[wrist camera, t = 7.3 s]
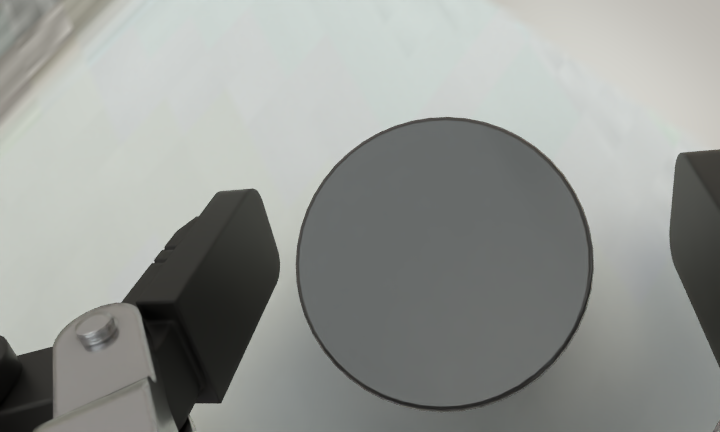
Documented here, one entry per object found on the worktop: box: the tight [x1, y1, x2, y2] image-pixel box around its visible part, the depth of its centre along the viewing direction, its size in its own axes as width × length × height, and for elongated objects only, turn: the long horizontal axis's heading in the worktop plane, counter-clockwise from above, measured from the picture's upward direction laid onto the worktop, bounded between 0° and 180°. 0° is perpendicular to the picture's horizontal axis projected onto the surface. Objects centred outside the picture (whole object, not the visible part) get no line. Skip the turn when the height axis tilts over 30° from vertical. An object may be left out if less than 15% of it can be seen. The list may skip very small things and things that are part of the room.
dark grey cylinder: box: [296, 117, 594, 412], centre depth 12 cm, size 4×4×9 cm
